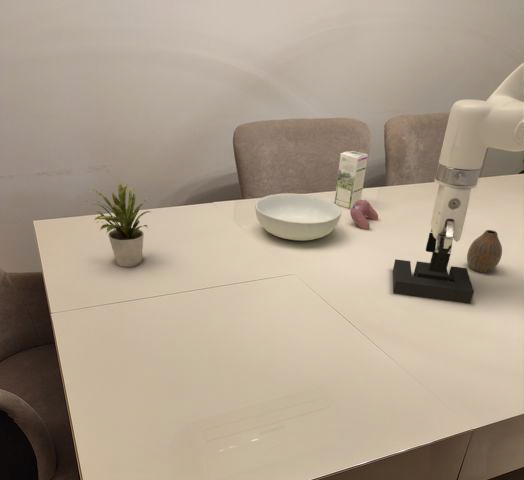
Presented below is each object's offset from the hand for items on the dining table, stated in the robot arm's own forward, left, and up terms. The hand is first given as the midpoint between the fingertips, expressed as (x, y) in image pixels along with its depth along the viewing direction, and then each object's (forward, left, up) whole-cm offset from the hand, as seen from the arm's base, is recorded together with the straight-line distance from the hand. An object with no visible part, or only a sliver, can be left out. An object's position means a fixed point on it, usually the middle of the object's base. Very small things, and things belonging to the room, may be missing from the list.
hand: (434, 261), depth 102 cm
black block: (0, 0, -5) cm, 5 cm away
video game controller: (+15, -32, -5) cm, 36 cm away
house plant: (+64, +8, -5) cm, 65 cm away
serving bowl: (+31, -19, -5) cm, 37 cm away
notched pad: (0, +2, -5) cm, 5 cm away
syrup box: (+20, -46, -5) cm, 51 cm away
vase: (-12, -11, -5) cm, 17 cm away
